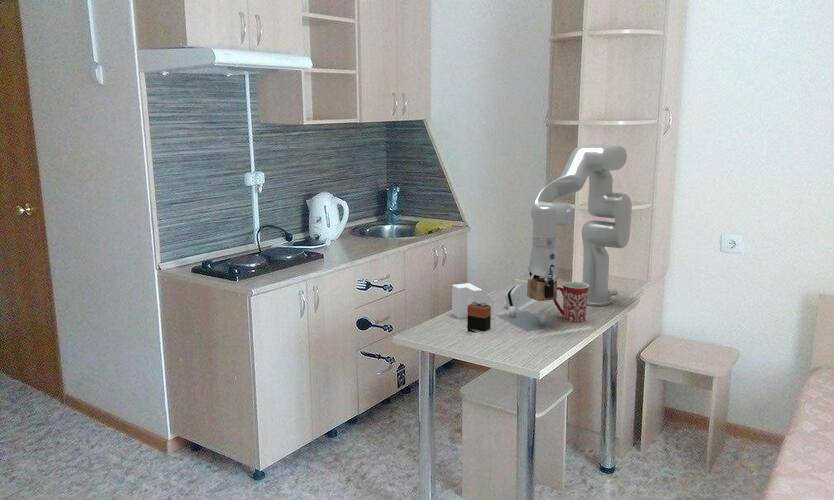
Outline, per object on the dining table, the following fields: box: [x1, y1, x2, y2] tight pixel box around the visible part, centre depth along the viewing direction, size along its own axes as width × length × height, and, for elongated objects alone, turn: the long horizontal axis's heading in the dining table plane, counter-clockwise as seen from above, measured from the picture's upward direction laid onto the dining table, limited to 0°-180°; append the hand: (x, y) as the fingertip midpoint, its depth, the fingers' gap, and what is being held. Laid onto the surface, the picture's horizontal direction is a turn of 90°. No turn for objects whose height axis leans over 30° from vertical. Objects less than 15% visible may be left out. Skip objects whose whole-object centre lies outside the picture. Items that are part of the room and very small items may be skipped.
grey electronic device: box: [504, 283, 539, 312], centre depth 253 cm, size 17×5×10 cm, turn 147°
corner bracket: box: [451, 282, 495, 320], centre depth 239 cm, size 11×11×12 cm
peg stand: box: [495, 306, 560, 332], centre depth 233 cm, size 13×20×6 cm, turn 25°
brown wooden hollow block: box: [526, 277, 558, 302], centre depth 227 cm, size 7×7×6 cm
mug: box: [552, 281, 589, 323], centre depth 235 cm, size 13×9×14 cm
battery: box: [466, 302, 492, 334], centre depth 225 cm, size 4×7×10 cm, turn 56°
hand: (542, 294), depth 227 cm, fingers closed on brown wooden hollow block, 7 cm apart
